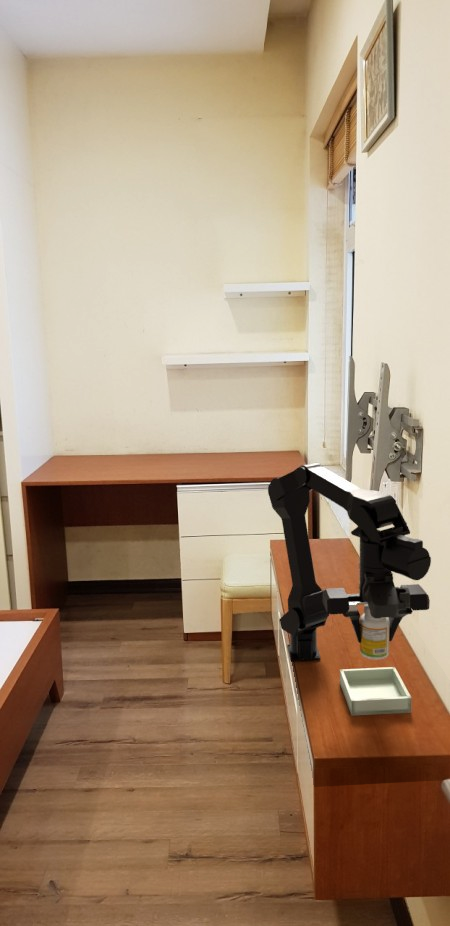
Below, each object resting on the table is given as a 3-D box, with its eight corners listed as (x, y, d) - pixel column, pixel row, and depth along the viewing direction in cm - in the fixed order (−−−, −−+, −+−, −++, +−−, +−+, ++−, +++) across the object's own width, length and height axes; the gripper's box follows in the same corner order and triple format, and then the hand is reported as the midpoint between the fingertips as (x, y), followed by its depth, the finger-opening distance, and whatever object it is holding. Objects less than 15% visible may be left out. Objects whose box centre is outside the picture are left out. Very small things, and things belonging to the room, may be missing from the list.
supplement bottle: (368, 643, 129) (368, 597, 127) (393, 651, 125) (395, 604, 123) (354, 655, 125) (355, 607, 123) (380, 663, 121) (381, 614, 119)
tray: (339, 683, 132) (339, 669, 132) (394, 680, 132) (394, 666, 132) (351, 715, 122) (351, 701, 121) (411, 712, 122) (411, 698, 121)
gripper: (332, 582, 113) (333, 665, 117) (441, 577, 113) (438, 660, 117) (321, 559, 124) (322, 635, 127) (420, 554, 124) (418, 631, 128)
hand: (374, 641), depth 125 cm, fingers closed on supplement bottle, 5 cm apart
